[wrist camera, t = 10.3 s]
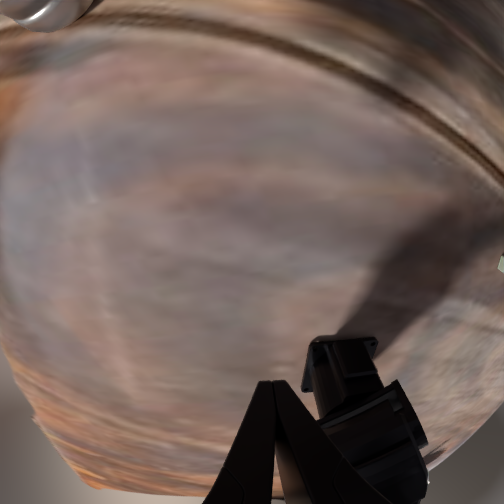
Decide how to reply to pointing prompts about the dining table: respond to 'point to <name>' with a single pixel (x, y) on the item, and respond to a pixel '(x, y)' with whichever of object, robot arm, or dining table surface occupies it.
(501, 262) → the pocket
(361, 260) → the dining table surface
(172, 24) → the dining table surface
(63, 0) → the plastic bottle
